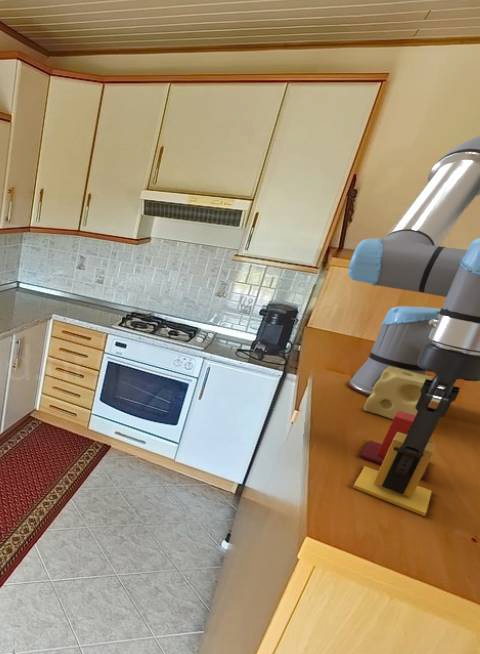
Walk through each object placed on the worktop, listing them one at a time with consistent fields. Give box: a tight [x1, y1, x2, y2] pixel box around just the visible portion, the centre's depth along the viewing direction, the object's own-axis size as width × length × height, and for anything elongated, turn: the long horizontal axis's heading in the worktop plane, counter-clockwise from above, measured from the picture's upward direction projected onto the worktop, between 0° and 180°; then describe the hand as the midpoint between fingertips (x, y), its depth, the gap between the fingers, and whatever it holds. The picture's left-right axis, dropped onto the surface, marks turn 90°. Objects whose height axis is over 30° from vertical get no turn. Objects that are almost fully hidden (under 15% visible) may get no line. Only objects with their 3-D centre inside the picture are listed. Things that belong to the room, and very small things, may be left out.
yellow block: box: [374, 432, 437, 497], centre depth 78 cm, size 5×5×8 cm
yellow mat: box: [352, 465, 433, 517], centre depth 79 cm, size 10×9×1 cm
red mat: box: [359, 439, 428, 480], centre depth 90 cm, size 10×9×1 cm
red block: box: [377, 410, 415, 458], centre depth 89 cm, size 5×5×8 cm
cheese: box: [363, 366, 435, 420], centre depth 112 cm, size 10×11×10 cm
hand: (395, 483), depth 79 cm, fingers closed on yellow block, 5 cm apart
